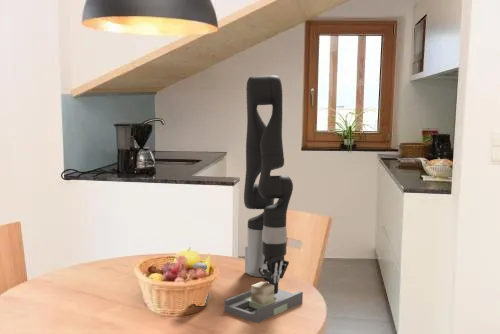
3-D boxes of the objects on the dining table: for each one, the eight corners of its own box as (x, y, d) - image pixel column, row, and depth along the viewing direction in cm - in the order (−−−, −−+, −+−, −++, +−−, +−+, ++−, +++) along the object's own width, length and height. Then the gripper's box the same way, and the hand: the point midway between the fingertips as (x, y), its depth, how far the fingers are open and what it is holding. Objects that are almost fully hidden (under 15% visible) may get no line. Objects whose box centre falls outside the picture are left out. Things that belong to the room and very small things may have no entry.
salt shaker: (206, 308, 165) (206, 267, 163) (188, 306, 166) (188, 265, 165) (211, 301, 171) (211, 261, 169) (193, 300, 172) (194, 260, 170)
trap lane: (224, 311, 163) (224, 300, 163) (270, 292, 180) (270, 282, 179) (257, 323, 155) (257, 311, 154) (302, 302, 171) (302, 291, 171)
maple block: (251, 301, 166) (251, 285, 165) (261, 296, 170) (261, 281, 169) (263, 305, 163) (264, 289, 162) (273, 300, 167) (274, 285, 166)
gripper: (277, 233, 175) (276, 285, 177) (251, 241, 165) (250, 296, 167) (296, 237, 170) (295, 290, 173) (270, 246, 160) (269, 302, 163)
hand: (273, 293), depth 170 cm, fingers closed
